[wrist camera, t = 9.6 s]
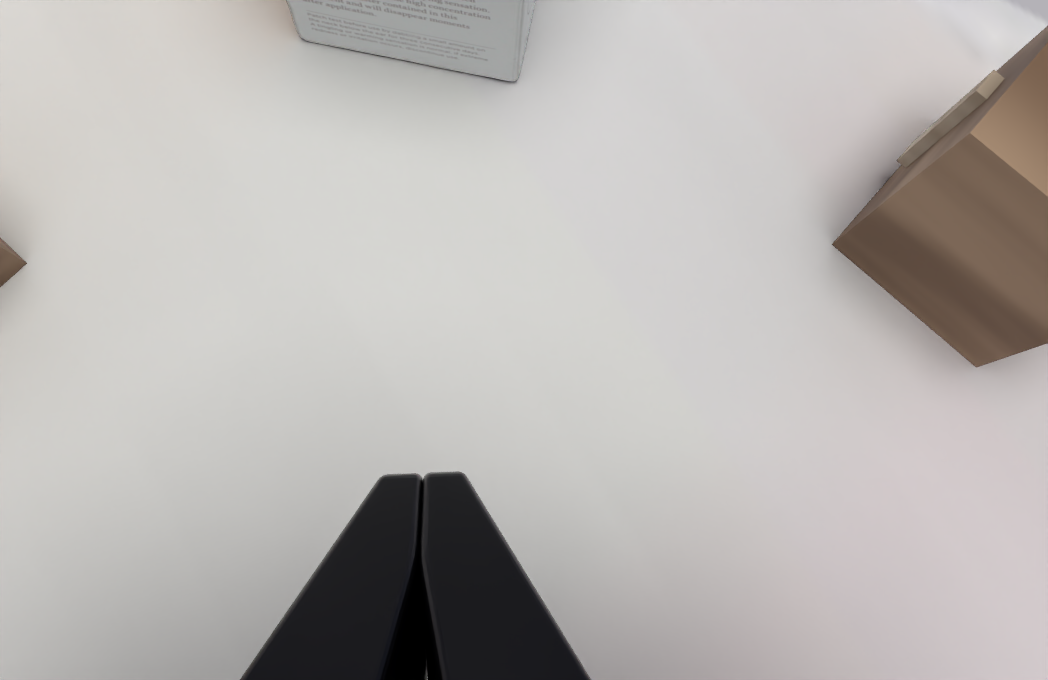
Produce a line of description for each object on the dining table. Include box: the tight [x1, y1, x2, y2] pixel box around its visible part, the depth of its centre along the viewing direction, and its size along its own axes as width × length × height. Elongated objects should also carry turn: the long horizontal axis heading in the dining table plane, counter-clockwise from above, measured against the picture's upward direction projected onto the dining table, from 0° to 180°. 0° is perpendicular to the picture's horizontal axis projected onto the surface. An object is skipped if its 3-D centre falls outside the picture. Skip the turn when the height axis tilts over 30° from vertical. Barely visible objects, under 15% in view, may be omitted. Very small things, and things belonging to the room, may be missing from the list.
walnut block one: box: [832, 26, 1048, 367], centre depth 22 cm, size 5×5×7 cm
